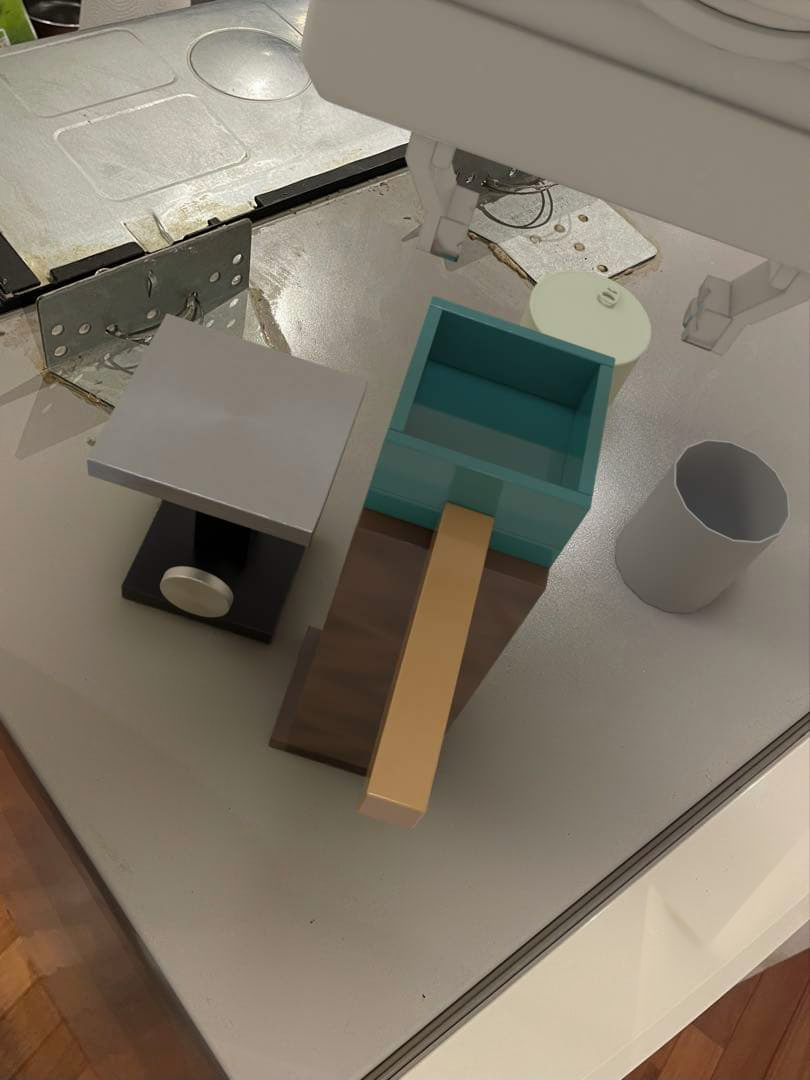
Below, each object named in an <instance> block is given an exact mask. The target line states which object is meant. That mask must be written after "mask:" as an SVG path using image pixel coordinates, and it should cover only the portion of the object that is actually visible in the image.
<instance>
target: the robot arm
mask: <svg viewBox="0 0 810 1080" xmlns="http://www.w3.org/2000/svg"><path fill="white" fill-rule="evenodd" d="M307 7H308V8H307V11H306V17H305V21H304V27H303V32H302V36H301V42H300V50H299V56H300V61H301V63H302V65H303V67H304V69H305V71H306V73H307V75H308V77H309V80H310V81H311V83H312V85H313V88H314V89H315V91H316V93H317V94H318V96H319V97H320V98H321V99H323V100H324V101H326V102H328V103H330V104H333V105H335V106H337V107H341V108H343V109H346V110H349V111H352V112H355V113H358V114H360V115H363V116H366V117H369V118H372V119H374V120H377V121H380V122H383V123H386V124H388V125H391V126H393V127H396V128H400V129H402V130H405V131H407V132H410V136H409V140H408V142H407V143H408V144H407V147H406V151H405V155H404V159H405V162H406V164H407V168H408V171H409V174H410V176H411V180H412V182H413V185H414V188H415V191H416V195H417V197H418V200H419V203H420V205H421V208H422V210H423V211H425V215H424V218H423V221H422V224H421V228H420V231H419V234H418V238H417V241H416V244H415V249H416V250H418V251H421V252H424V253H427V254H429V255H431V256H435V257H438V258H441V259H444V260H447V261H450V262H453V263H458V262H459V261H458V260H459V258H460V255H461V252H462V250H463V246H464V243H465V241H466V238H467V236H468V233H469V230H470V227H471V225H472V224H471V223H472V221H473V217H474V213H475V210H476V207H477V205H478V201H479V198H480V193H479V192H476V191H474V190H472V189H469V188H466V187H464V186H461V185H459V184H458V182H457V179H456V178H457V177H456V174H455V170H454V165H453V160H454V159H453V158H454V156H455V154H456V151H457V149H459V150H460V151H461V150H462V151H464V152H467V153H470V154H472V155H474V156H475V155H476V156H477V157H482V158H483V159H486V160H489V161H493V162H494V163H498V164H500V165H503V166H506V167H509V168H512V169H515V170H516V171H520V172H523V173H524V174H525V173H526V174H528V175H532V176H534V177H537V178H540V179H543V180H546V181H548V182H551V183H553V184H556V185H559V186H562V187H565V188H568V189H570V190H573V191H576V192H579V193H582V194H585V195H587V196H590V197H593V198H596V199H598V200H601V201H604V202H607V203H610V204H612V205H615V206H617V207H620V208H623V209H626V210H629V211H632V212H635V213H637V214H640V215H643V216H646V217H648V218H651V219H654V220H656V221H657V220H658V221H660V222H663V223H666V224H668V225H671V226H674V227H677V228H680V229H683V230H685V231H688V232H691V233H693V234H696V235H699V236H702V237H705V238H708V239H711V240H713V241H716V242H719V243H722V244H724V245H727V246H730V247H732V248H736V249H738V250H741V251H744V252H747V253H750V254H753V255H756V256H757V257H759V258H760V257H761V258H763V259H766V260H765V261H764V262H762V263H760V264H758V265H757V266H755V267H753V268H752V269H750V270H748V271H746V272H745V273H743V274H741V275H739V276H738V277H736V278H734V279H732V280H731V281H729V280H726V279H723V278H720V277H717V276H713V275H710V274H707V276H706V278H705V279H704V280H703V282H702V283H701V284H700V286H699V288H698V293H697V296H696V297H693V298H692V299H691V300H690V302H689V303H688V305H687V308H686V310H685V312H684V315H683V319H682V326H683V328H684V330H683V331H682V333H681V339H680V340H681V342H684V343H685V344H689V345H691V346H694V347H697V348H699V349H701V350H704V351H706V352H710V353H713V354H716V355H719V356H721V357H723V356H725V355H726V354H727V353H728V351H729V350H730V348H732V346H733V344H734V343H735V342H736V341H737V340H738V338H739V336H740V335H741V333H742V332H743V331H744V329H745V328H746V327H747V325H749V326H753V325H755V324H758V323H760V322H762V321H764V320H766V319H768V318H771V317H774V316H776V315H778V314H780V313H782V312H783V313H784V312H786V311H787V310H790V309H792V308H794V307H797V306H799V305H801V304H804V303H806V302H808V301H810V0H309V3H308V6H307Z"/></svg>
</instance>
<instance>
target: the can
mask: <svg viewBox="0 0 810 1080" xmlns="http://www.w3.org/2000/svg"><path fill="white" fill-rule="evenodd" d="M650 321H651V320H650V319H649V315H648V314H647V311H646V310H645V308H644V306H643V305H642V304H641V302H640V301H639V300H638V298H637V297H635V296H634V294H632V293H631V292H630V291H629V290H628V289H627V288H625V287H624V286H623V285H621V284H619V283H618V282H616V281H614V280H613V279H610V278H609V277H607V276H604V275H601V274H598V273H595V272H591V271H587V270H579V269H565V270H558V271H555V272H552V273H549V274H548V275H546V276H544V277H543V278H541V279H540V280H539V281H538V282H537V283H536V284H535V285H534V287H533V288H532V290H531V293H530V295H529V299H528V303H527V305H526V307H525V309H524V312H523V315H522V317H521V320H520V321H519V324H518V325H520V326H523V327H526V328H529V329H532V330H535V331H538V332H541V333H543V334H546V335H549V336H552V337H555V338H558V339H561V340H564V341H567V342H570V343H573V344H576V345H579V346H581V347H584V348H587V349H590V350H593V351H596V352H599V353H602V354H605V355H608V356H611V357H614V358H615V366H614V372H613V378H612V384H611V390H610V396H609V402H608V408H607V411H608V410H609V409H610V407H611V405H613V402H614V400H615V399H616V397H617V395H618V394H619V392H620V390H621V389H622V387H623V386H624V384H625V382H626V381H627V379H628V378H629V376H630V375H631V373H632V372H633V370H634V368H635V367H636V365H637V363H638V362H639V361H640V359H641V357H642V356H643V355H644V354H645V353H646V351H647V350H648V347H649V346H650V343H651V340H652V325H651V322H650Z"/></svg>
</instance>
